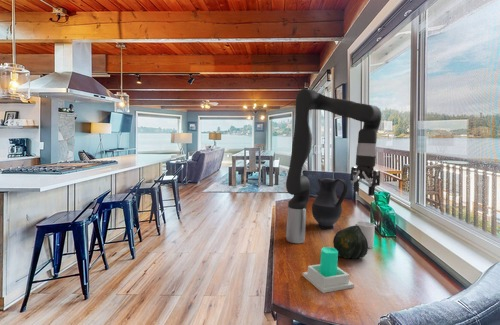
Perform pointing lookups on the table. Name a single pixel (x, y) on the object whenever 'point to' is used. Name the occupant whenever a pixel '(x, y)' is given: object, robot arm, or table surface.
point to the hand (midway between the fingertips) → (363, 193)
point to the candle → (328, 261)
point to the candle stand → (327, 279)
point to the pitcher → (328, 203)
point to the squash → (351, 243)
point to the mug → (367, 231)
